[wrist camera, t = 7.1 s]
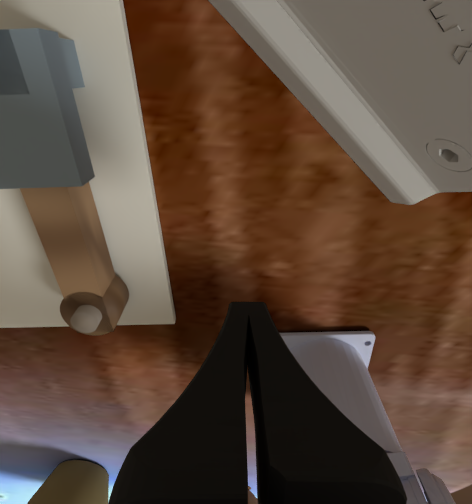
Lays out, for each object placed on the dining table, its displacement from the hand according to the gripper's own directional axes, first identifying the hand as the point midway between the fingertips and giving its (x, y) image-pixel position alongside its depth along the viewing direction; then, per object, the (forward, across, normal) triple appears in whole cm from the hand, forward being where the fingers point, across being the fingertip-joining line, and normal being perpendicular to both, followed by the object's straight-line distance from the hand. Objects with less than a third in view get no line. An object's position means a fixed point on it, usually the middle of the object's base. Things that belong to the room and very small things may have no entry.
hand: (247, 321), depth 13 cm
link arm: (+8, +10, 0) cm, 13 cm away
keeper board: (+9, +13, -2) cm, 16 cm away
